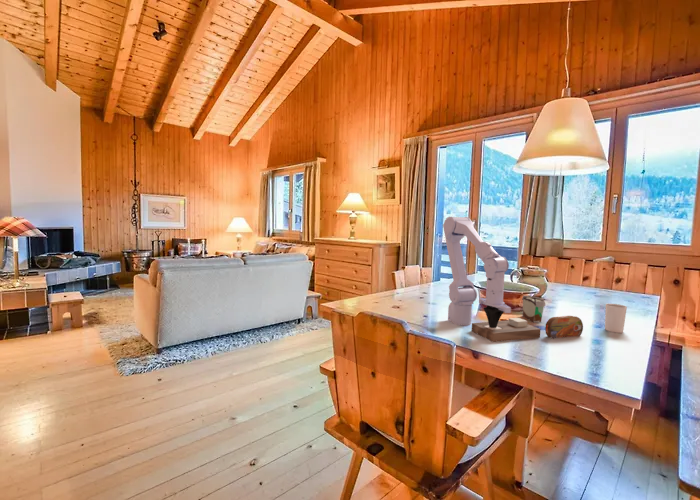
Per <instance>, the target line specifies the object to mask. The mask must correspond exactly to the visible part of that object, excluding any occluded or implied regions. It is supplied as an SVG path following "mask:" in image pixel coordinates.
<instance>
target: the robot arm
mask: <svg viewBox="0 0 700 500" xmlns="http://www.w3.org/2000/svg"><path fill="white" fill-rule="evenodd" d="M442 226H443V232H444V238H445V244H446V249H447V254H448V259H449V265H450V269H451V273H452V280H453V281H452V282H451V283H450V284H449V286H448V288H449V293H448V296H449V297H448V298H449V300H450V301H451V302H449V304H448V308H447V309H448V310H447V320H445V321H446V322H449V321H450V322H451V323H452V324H454V325H457V326H472V311H473V305H474V302H476V300H477V297H478V292H477V290H476V288H475V286H474V282H472V281H471V280H470V279H469V278H468V276H467V271H466V266H465V261H464V256H463V251H462V246H461V240H462V239H463V238H465V237H466V239H468V240H469V242H471V244H472V245H473V246H474V251H475V253H476V254H477V256H478V258H479V259H480V260H481V262H482V263H484V264H483V269H484V271H485V276H486V289H485V291H486V292H485V298H484V297H479V299H478V304H481V305H485V307H483V311H484V313H485V315H486V317H487V322H488V323H489V327H491V328H496V327H497V324H498V321H500V319H501V317H502V315H503V314H511V313H512V307H511V306H509V305H507V304H506V302H504V290H505V286H504V285H505V273H506V272H508V270H509V266H510V265H509V261H508V259H507V258H506V256H501V255H500V254H499V253H498V252H496V250H495V249H494V247H493V246H492V244H491V243H490V242H487V241H484V240H483V239H482V237H481V236H480V235H479V232H477V230H476V229H475V227H474V222H473V221H472V219H470V217H467V216H464V217H463V216H462V217H461V216H460V217H457V216H456V217H455V216H448V217H446V219H444V223H443V224H442Z"/></svg>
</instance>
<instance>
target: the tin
mask: <svg viewBox="0 0 700 500" xmlns="http://www.w3.org/2000/svg"><path fill="white" fill-rule="evenodd" d="M544 330H545V335H546V336H547V337H548V338H550V339H552V340H554V339H560V338H571V337H581V335H582V333H583V330H584V324H583V321H582V319H581V318H580V317H578V316H576V315H575V316H574V315H562V316H553V317H550V318H548V319H547V321H546V323H545V327H544Z"/></svg>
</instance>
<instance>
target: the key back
mask: <svg viewBox="0 0 700 500" xmlns="http://www.w3.org/2000/svg"><path fill="white" fill-rule="evenodd" d="M508 320H509V324H510V325H512V326H515V327H517V328H518V327H527V324H528V320H526V319H524V318H520V317H510V318H508Z"/></svg>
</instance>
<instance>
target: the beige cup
mask: <svg viewBox="0 0 700 500" xmlns="http://www.w3.org/2000/svg"><path fill="white" fill-rule="evenodd" d="M627 308H628V307H627V306H626V305H623V304H617V303H605V311H604V313H605V317H604V318H605V319H604V330H606V331H607V332H610V333H611V332H612V333H619V334H620V333H621V334H622V333H624V330H625V323H626V322H625V321H626V315H627V314H626V313H627Z"/></svg>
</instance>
